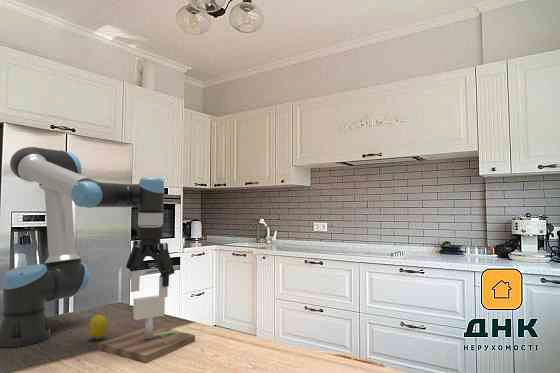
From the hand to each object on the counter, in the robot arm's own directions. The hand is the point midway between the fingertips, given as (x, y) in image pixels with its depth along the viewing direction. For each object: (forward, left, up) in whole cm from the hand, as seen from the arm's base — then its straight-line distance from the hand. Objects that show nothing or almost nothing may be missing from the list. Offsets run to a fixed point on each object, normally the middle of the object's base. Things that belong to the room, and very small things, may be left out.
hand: (148, 294), depth 122 cm
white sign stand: (+1, +2, -13) cm, 14 cm away
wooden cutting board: (0, 0, -16) cm, 16 cm away
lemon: (-19, -4, -16) cm, 25 cm away
